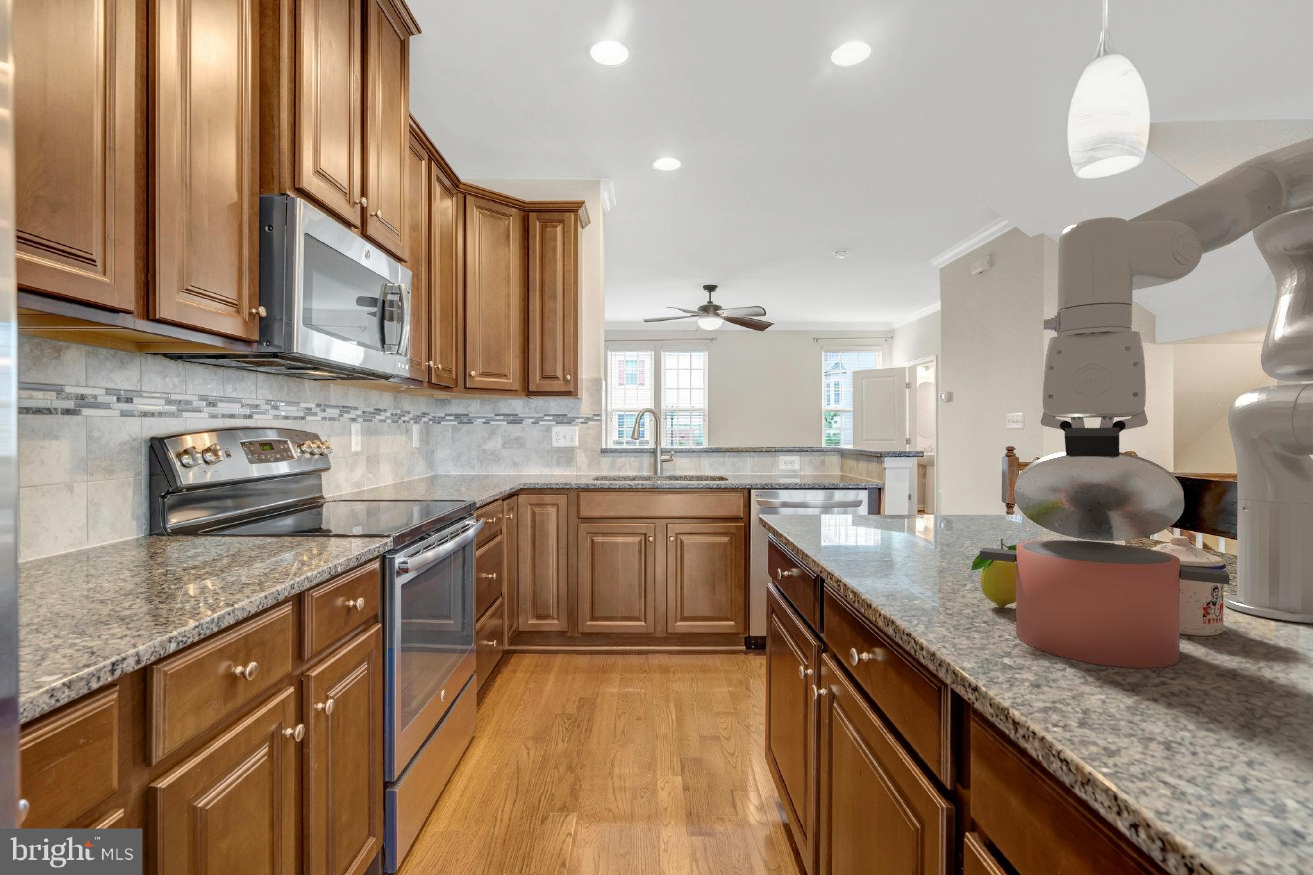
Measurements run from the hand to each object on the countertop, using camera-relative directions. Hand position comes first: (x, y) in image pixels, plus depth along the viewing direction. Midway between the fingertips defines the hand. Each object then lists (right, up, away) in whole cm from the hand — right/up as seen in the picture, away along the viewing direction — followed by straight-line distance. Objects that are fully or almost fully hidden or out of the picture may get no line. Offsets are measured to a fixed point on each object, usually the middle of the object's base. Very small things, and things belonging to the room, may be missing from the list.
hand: (1091, 475), depth 77 cm
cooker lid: (0, -2, -1) cm, 2 cm away
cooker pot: (-1, -20, -1) cm, 20 cm away
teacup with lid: (+16, -20, +6) cm, 26 cm away
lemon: (-3, -20, +14) cm, 25 cm away
